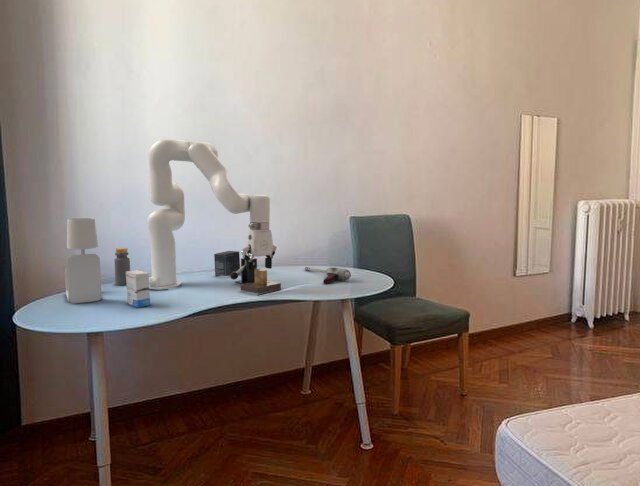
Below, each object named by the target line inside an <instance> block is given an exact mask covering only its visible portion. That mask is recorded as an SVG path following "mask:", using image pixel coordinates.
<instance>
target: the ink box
mask: <svg viewBox="0 0 640 486" xmlns="http://www.w3.org/2000/svg"><path fill="white" fill-rule="evenodd" d="M149 277H150V276H149V273H148V272H146V271H142V270H139V269H136V270H130V271H127V272H126V283H127V285H126V294H127V304H128V305H130V306H132V307H135V308H144V307H148V306H151V295H150V293H151V292H150V289H149Z"/></svg>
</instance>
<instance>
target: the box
mask: <svg viewBox="0 0 640 486" xmlns="http://www.w3.org/2000/svg"><path fill="white" fill-rule="evenodd" d="M213 258H214V260H213V261H214V276H215V277H227V276H230V274H231V273H232V272H236V271H238V270H239V269H240V268H241V257H240V251H238V250H225V251H223V252H217V253H214V254H213Z"/></svg>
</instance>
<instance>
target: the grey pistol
mask: <svg viewBox="0 0 640 486" xmlns="http://www.w3.org/2000/svg"><path fill="white" fill-rule="evenodd" d="M304 271H307V272H308V271H309V272H317V273H323V274H325V275H326V276H325V278H324V279H323V284H325V285H326V284H327V285H328V284H331V283H332V281H334V280H341V281H347V280H349V279H350V278H351V277H352V273H351V271H350V270H349V269H346V268H341V267H328V268H327V269H319V268H313V267H310V266H306V267H304Z"/></svg>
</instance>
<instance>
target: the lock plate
mask: <svg viewBox="0 0 640 486" xmlns="http://www.w3.org/2000/svg"><path fill="white" fill-rule="evenodd" d="M281 288H282V283H281V282H279V281H272V280H268V279H267V284H265V285H262V284H257V283H255V282H250V283H246V284H240V291H243V292H248V293H252V294H256V296H257V297H258V296H263V295H267V294H272V293H276V292H280V291H281Z"/></svg>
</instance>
